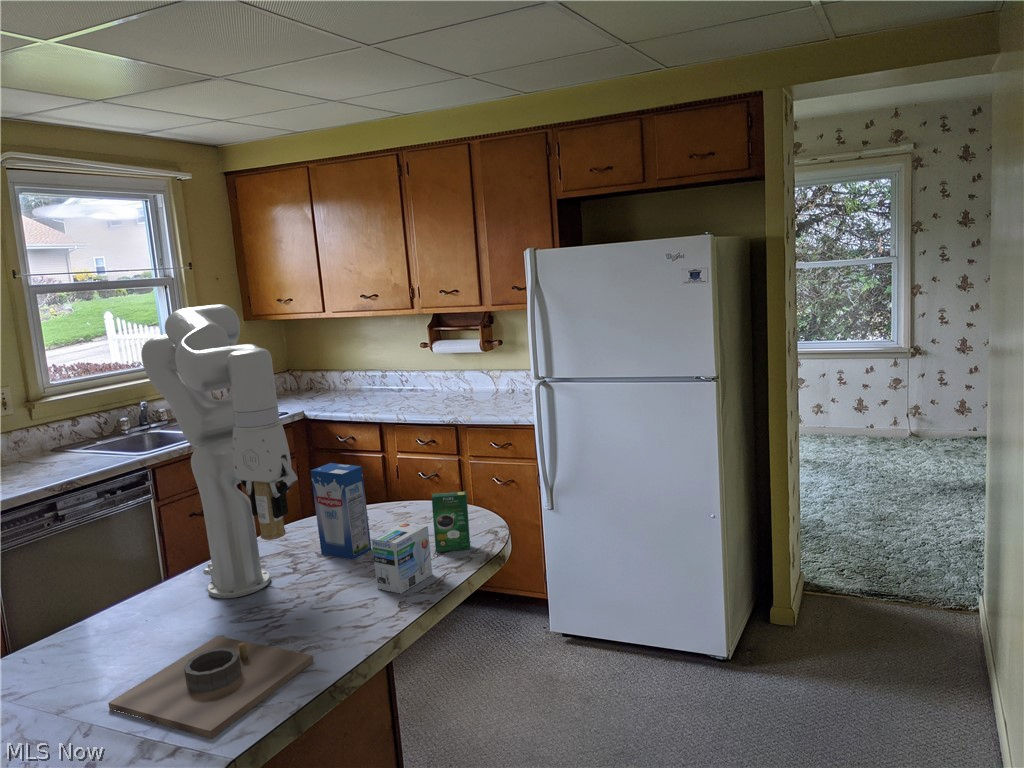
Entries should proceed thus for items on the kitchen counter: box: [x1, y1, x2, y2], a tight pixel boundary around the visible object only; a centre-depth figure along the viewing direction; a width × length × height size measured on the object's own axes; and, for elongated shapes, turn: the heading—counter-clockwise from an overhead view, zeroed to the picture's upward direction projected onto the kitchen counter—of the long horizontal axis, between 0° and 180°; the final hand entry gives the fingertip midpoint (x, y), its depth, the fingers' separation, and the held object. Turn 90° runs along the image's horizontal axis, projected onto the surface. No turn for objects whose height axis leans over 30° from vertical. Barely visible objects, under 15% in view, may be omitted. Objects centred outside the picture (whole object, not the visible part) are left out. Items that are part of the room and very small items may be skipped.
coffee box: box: [431, 490, 471, 553], centre depth 175 cm, size 8×3×13 cm, turn 94°
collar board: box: [108, 635, 314, 739], centre depth 126 cm, size 22×22×4 cm
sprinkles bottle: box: [254, 482, 287, 541], centre depth 143 cm, size 5×5×14 cm
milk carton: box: [310, 462, 373, 561], centre depth 178 cm, size 10×6×20 cm, turn 58°
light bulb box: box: [370, 521, 433, 595], centre depth 159 cm, size 11×7×11 cm, turn 148°
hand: (270, 513), depth 143 cm, fingers closed on sprinkles bottle, 4 cm apart
